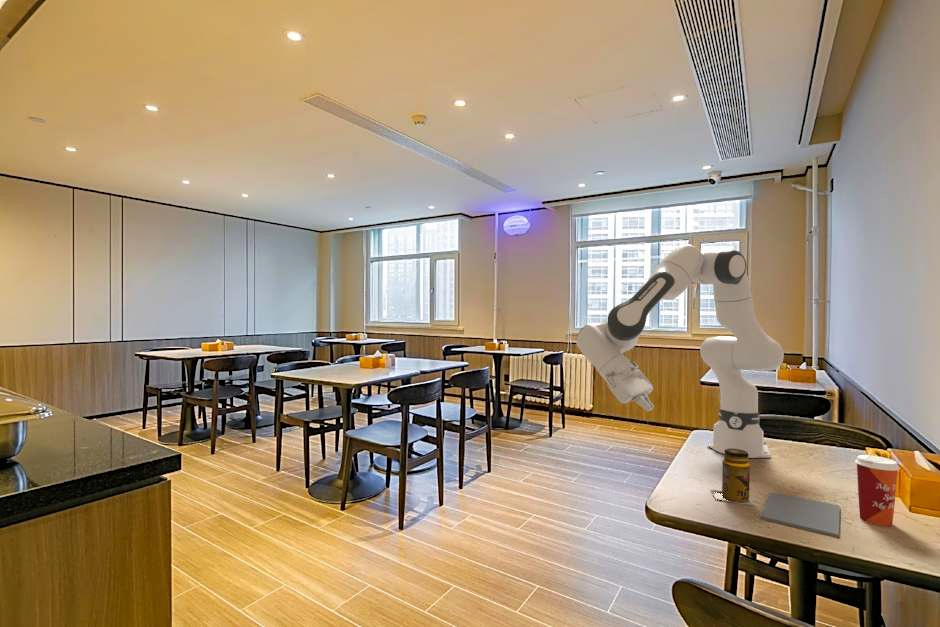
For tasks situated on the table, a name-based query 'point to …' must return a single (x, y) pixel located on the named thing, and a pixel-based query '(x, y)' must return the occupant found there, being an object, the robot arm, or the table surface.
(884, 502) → the paper cup
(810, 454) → the table surface
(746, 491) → the condiment
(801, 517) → the slate mat
